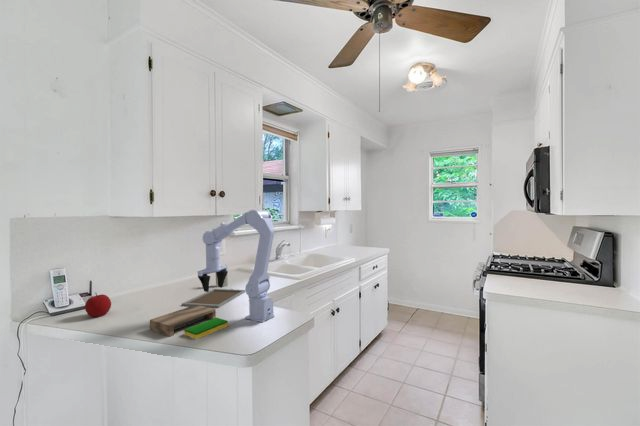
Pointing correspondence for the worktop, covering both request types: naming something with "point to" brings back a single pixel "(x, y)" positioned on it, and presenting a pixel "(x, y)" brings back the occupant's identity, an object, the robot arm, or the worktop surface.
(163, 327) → the low shelf
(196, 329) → the dish sponge
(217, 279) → the skincare box
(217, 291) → the grey flat tray
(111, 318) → the worktop surface
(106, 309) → the apple
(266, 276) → the robot arm
